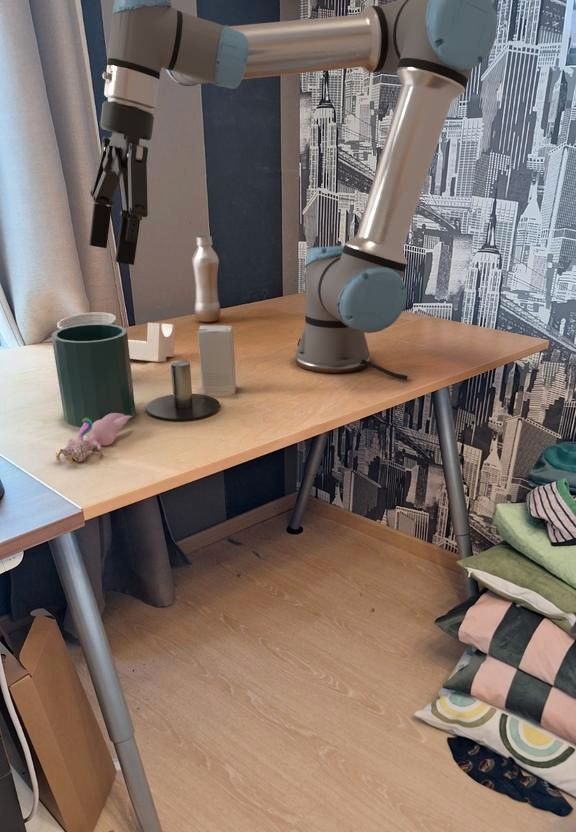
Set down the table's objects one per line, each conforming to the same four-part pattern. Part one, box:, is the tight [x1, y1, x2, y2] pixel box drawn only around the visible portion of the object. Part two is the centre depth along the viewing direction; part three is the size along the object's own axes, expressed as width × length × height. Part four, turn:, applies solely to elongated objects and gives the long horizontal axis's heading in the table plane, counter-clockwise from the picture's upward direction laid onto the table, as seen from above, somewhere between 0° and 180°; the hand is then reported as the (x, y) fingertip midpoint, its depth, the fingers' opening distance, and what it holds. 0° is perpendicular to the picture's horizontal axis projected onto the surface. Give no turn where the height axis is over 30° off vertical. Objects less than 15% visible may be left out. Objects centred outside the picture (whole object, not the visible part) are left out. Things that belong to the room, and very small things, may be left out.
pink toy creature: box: [55, 413, 133, 468], centre depth 109 cm, size 6×6×15 cm
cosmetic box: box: [197, 325, 237, 395], centre depth 130 cm, size 6×4×12 cm
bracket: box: [128, 322, 176, 363], centre depth 151 cm, size 13×7×8 cm, turn 72°
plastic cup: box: [56, 311, 117, 330], centre depth 136 cm, size 11×11×12 cm
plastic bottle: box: [191, 235, 222, 323], centre depth 175 cm, size 6×7×20 cm
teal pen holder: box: [51, 324, 137, 428], centre depth 118 cm, size 12×12×14 cm
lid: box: [145, 359, 221, 422], centre depth 122 cm, size 13×13×9 cm
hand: (110, 254), depth 114 cm, fingers open, 13 cm apart
